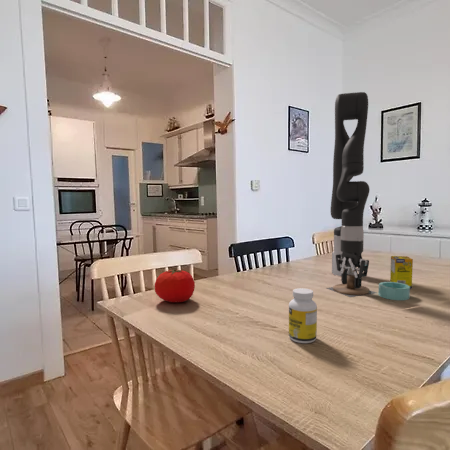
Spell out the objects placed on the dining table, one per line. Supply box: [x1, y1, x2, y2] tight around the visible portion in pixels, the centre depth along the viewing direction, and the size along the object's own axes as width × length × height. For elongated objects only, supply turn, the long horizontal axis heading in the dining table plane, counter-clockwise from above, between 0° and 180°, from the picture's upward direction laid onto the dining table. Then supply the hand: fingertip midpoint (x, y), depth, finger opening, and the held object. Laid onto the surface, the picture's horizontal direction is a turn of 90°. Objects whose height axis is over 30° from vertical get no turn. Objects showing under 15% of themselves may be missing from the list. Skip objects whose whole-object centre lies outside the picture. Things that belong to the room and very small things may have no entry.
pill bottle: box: [288, 287, 318, 344], centre depth 78 cm, size 6×6×12 cm
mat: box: [325, 286, 377, 298], centre depth 117 cm, size 12×12×1 cm
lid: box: [332, 275, 370, 296], centre depth 117 cm, size 12×12×5 cm
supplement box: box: [389, 255, 414, 289], centre depth 123 cm, size 6×6×11 cm
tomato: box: [154, 268, 196, 303], centre depth 108 cm, size 13×12×11 cm
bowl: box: [377, 281, 411, 301], centre depth 110 cm, size 9×9×4 cm
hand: (351, 285), depth 117 cm, fingers open, 5 cm apart
